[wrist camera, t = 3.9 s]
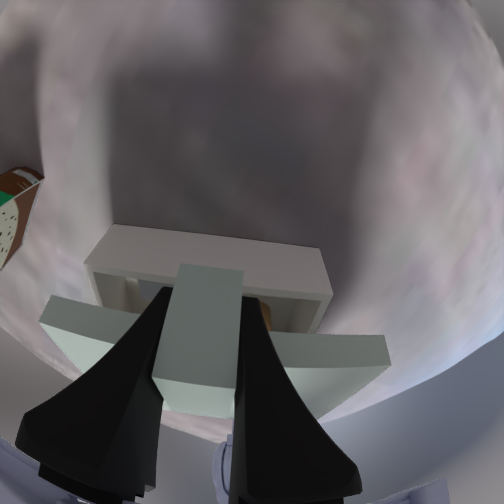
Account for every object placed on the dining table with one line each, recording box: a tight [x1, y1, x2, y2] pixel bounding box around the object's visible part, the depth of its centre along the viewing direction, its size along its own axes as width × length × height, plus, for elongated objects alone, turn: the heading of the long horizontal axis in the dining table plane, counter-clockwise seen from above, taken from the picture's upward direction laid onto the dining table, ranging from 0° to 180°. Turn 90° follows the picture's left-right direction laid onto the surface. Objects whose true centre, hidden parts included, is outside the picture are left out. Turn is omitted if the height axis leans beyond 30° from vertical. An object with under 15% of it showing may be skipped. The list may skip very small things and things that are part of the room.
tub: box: [84, 224, 333, 334], centre depth 20 cm, size 10×16×5 cm, turn 82°
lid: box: [39, 263, 391, 420], centre depth 13 cm, size 15×18×4 cm
